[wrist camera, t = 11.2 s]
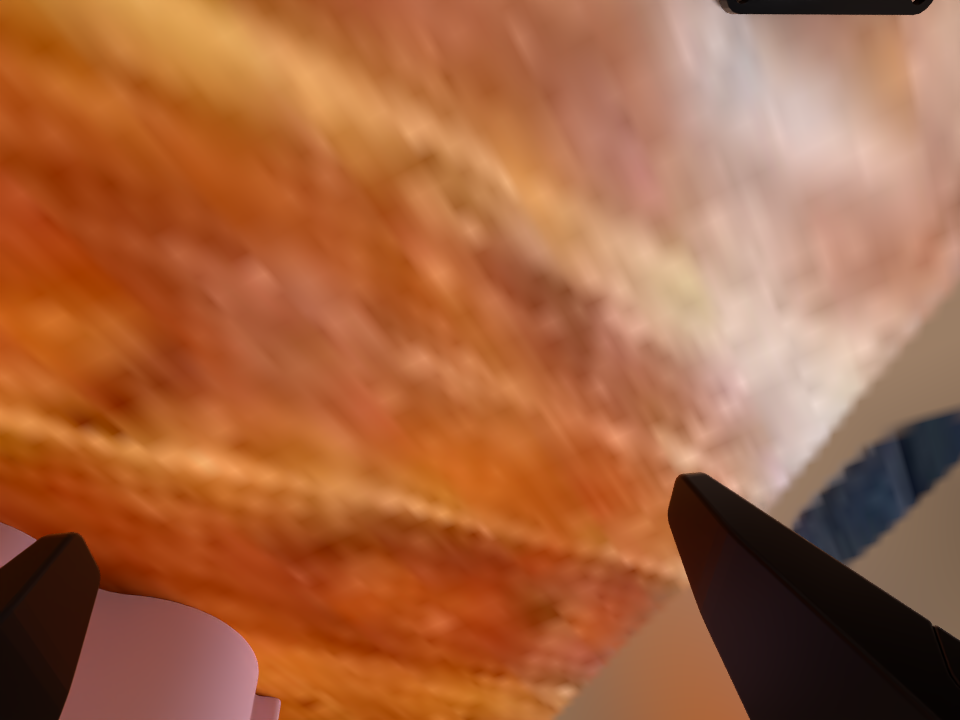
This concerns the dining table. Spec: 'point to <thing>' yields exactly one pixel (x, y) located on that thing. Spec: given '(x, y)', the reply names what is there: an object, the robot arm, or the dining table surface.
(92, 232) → the dining table surface
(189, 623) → the clip
